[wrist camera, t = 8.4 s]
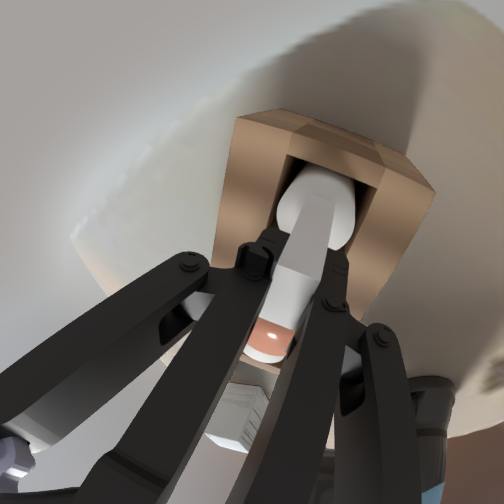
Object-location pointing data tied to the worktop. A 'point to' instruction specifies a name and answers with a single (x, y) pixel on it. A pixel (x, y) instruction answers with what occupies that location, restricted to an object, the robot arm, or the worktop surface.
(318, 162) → the walnut socket block
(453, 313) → the worktop surface
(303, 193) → the grey plug
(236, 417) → the supplement box
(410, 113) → the worktop surface
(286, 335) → the terracotta plug
